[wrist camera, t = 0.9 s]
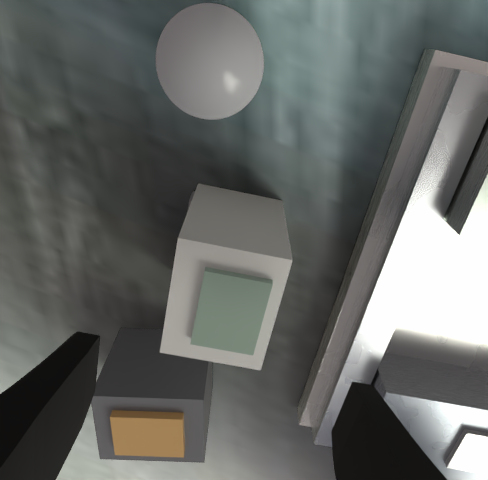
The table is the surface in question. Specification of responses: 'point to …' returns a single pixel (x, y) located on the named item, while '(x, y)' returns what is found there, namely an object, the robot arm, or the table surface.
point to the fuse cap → (209, 61)
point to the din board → (420, 279)
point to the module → (227, 278)
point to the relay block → (151, 401)
